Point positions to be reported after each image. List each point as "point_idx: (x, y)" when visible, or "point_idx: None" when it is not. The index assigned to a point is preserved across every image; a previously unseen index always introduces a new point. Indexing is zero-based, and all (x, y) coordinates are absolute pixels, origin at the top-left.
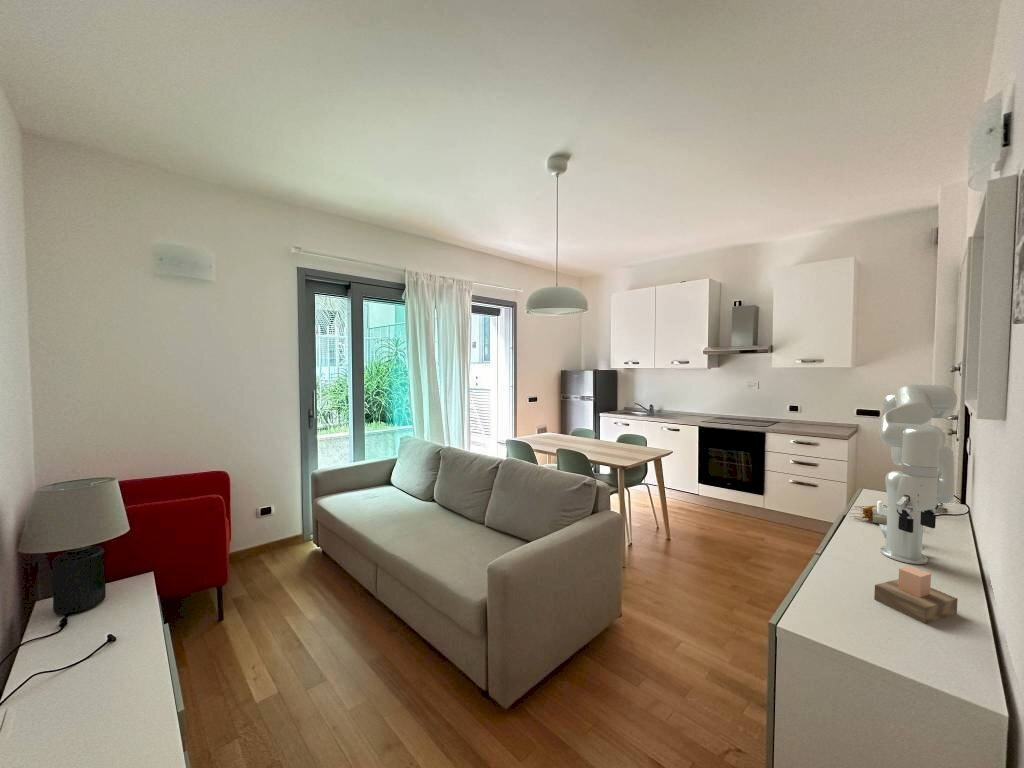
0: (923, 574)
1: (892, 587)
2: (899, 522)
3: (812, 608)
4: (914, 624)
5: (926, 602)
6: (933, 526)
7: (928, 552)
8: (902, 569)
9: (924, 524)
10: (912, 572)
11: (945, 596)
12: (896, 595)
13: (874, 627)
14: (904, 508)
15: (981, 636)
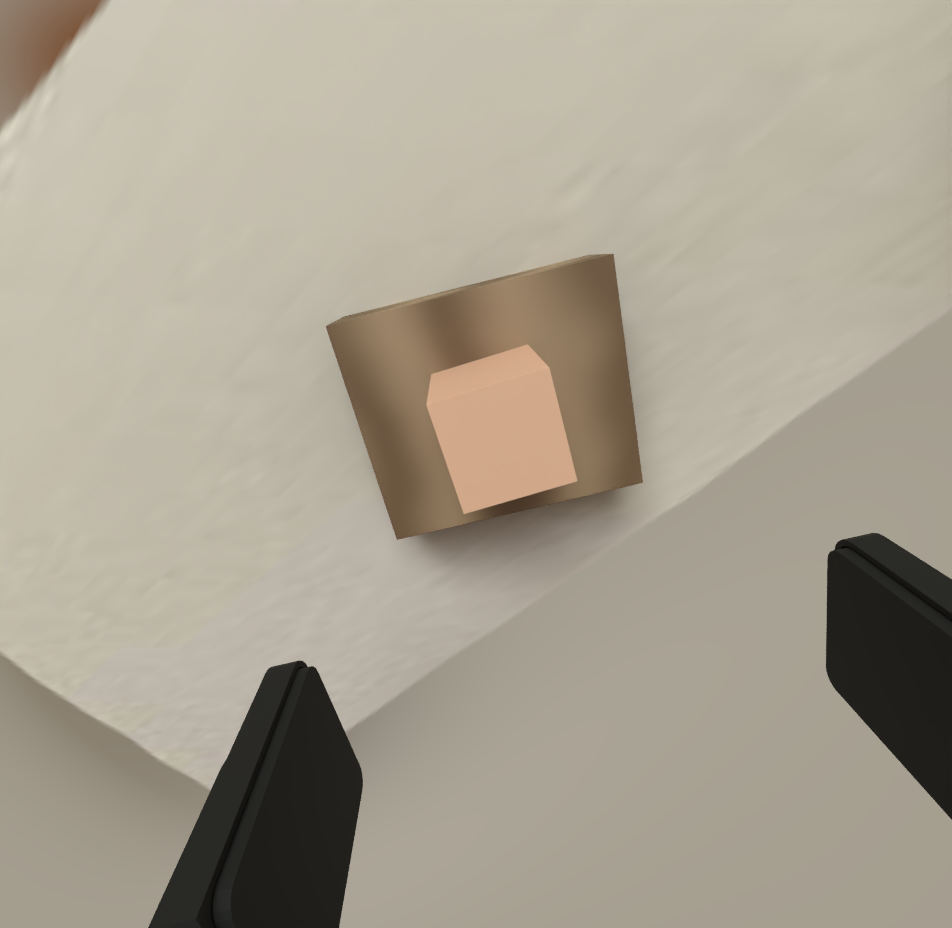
0: (515, 487)
1: (408, 361)
2: (233, 770)
3: None
4: (355, 505)
5: (447, 502)
6: (850, 703)
7: None
8: (441, 416)
9: (841, 606)
10: (467, 460)
11: (604, 462)
12: (362, 429)
13: (164, 513)
14: None
15: (540, 579)
